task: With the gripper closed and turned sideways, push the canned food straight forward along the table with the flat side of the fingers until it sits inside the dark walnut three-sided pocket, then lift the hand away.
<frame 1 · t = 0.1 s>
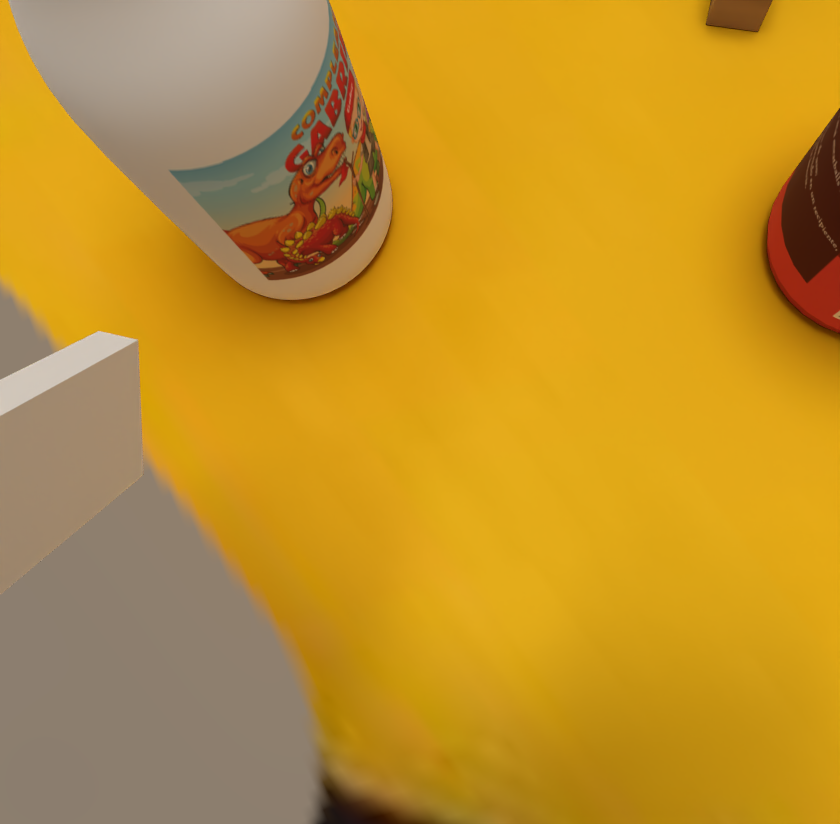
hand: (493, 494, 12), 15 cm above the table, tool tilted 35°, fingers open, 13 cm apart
milk bottle: (303, 216, 31), on the table
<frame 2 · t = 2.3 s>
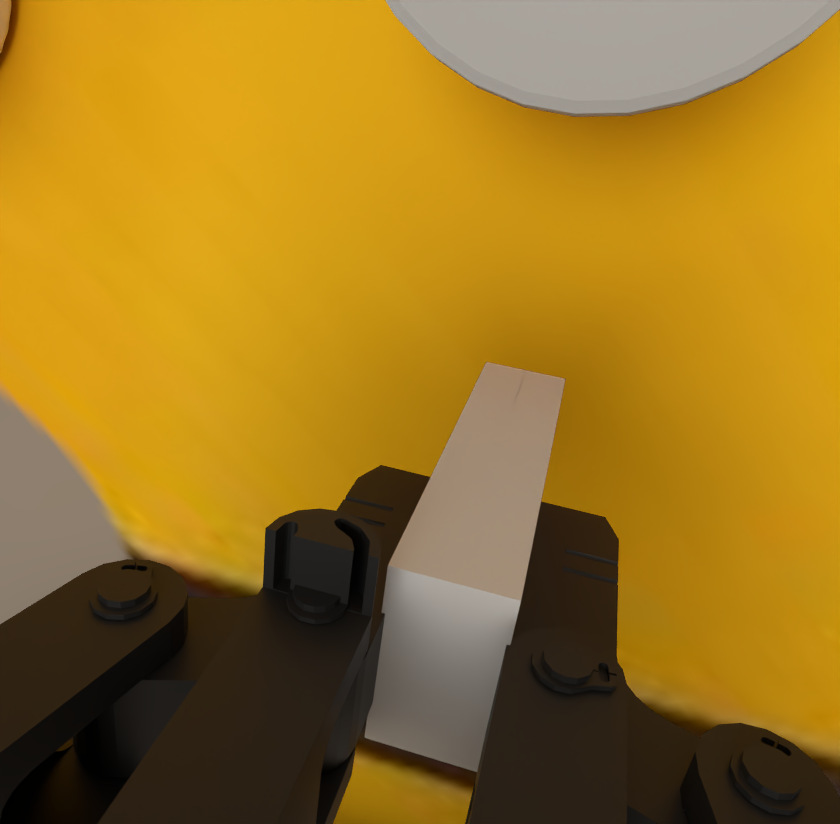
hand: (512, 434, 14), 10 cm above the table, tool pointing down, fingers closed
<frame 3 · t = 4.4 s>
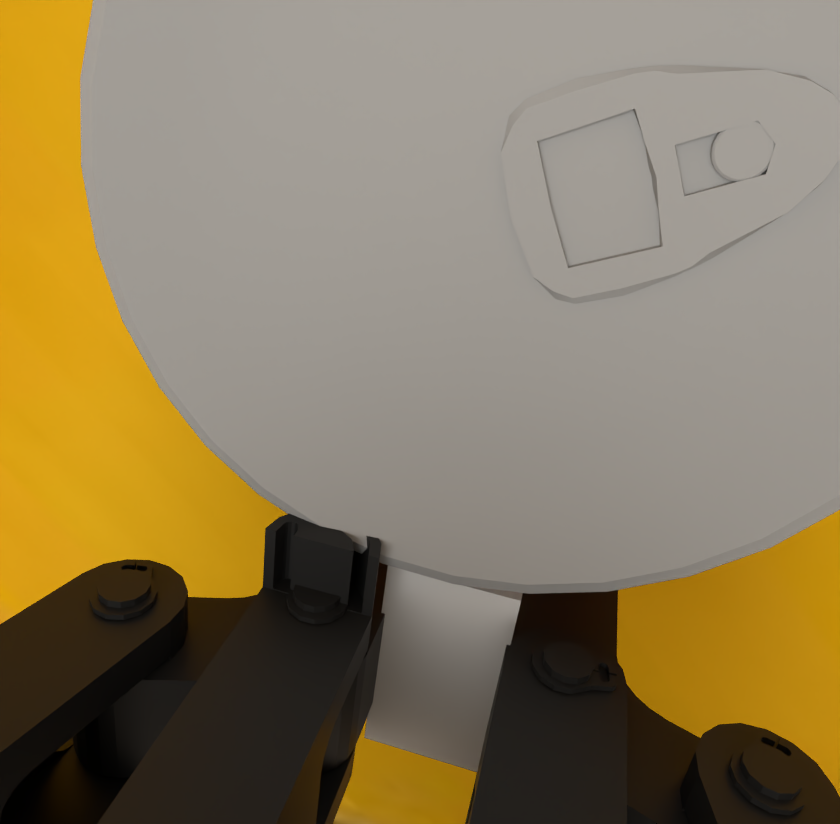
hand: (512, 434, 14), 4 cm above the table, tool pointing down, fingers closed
canned food: (579, 125, 16), on the table, touching gripper
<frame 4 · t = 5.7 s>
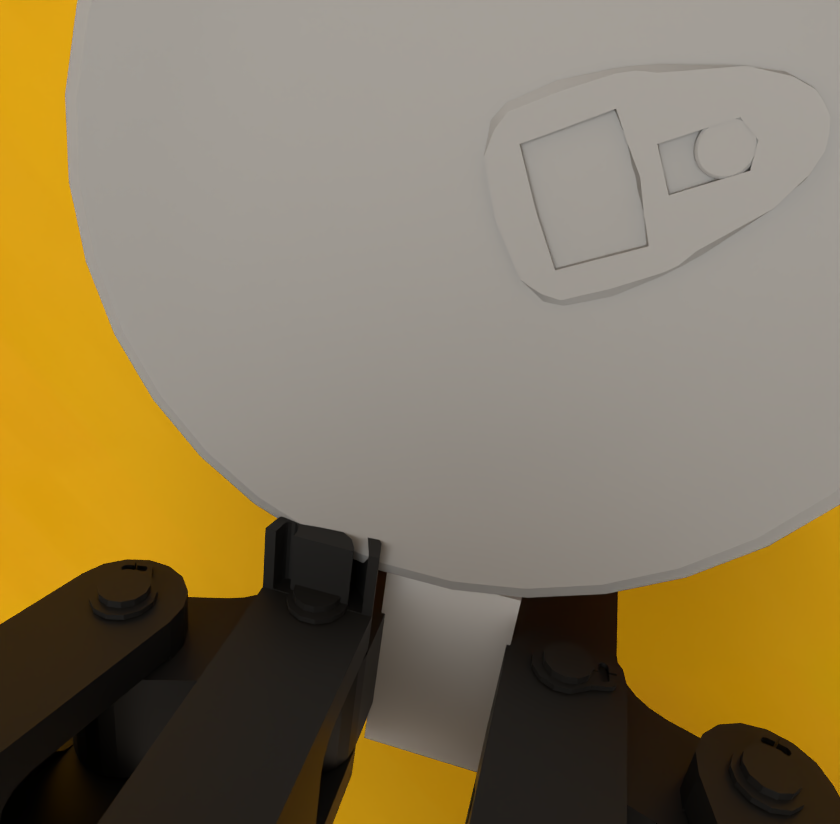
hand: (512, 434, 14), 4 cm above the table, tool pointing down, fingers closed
canned food: (574, 125, 16), on the table, touching gripper
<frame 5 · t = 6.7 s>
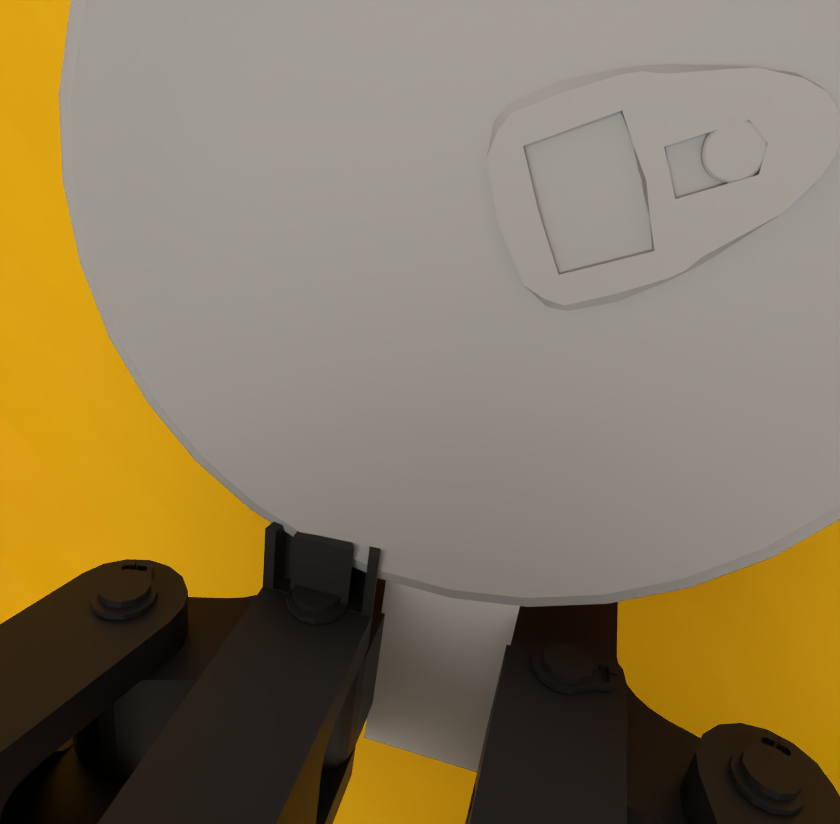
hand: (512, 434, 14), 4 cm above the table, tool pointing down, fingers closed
canned food: (576, 125, 16), on the table, touching gripper
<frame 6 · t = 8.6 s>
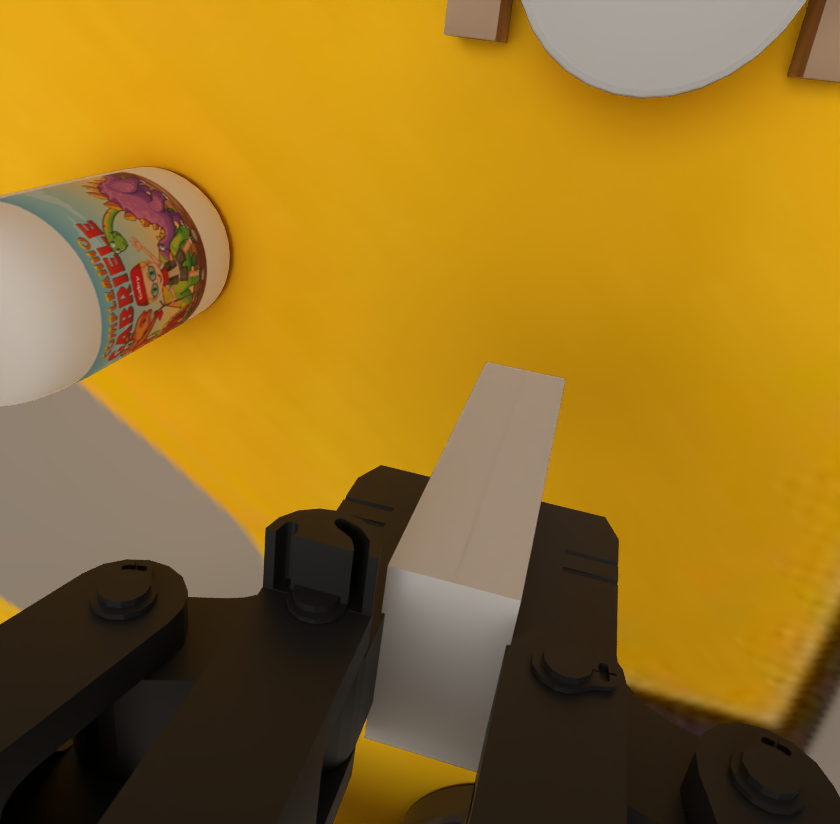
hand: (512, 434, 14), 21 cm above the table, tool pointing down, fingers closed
milk bottle: (168, 242, 39), on the table
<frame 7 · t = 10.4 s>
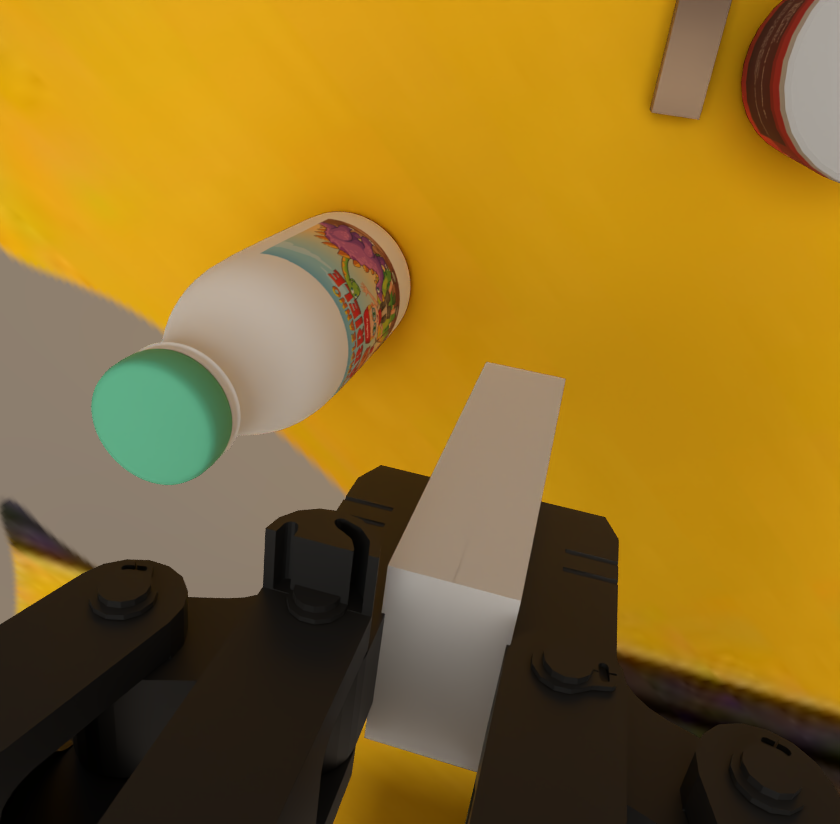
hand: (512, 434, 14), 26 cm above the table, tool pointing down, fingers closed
milk bottle: (348, 278, 43), on the table
canned food: (835, 67, 33), on the table
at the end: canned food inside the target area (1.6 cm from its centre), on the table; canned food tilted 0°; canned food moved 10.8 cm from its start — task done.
